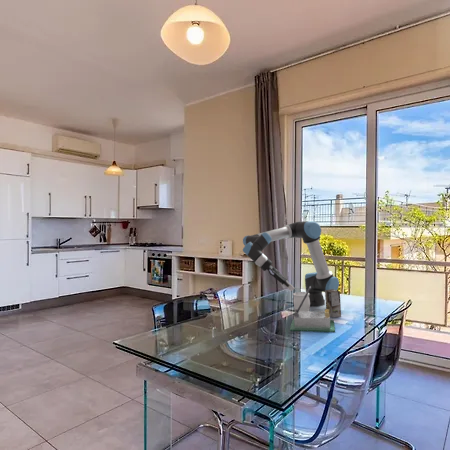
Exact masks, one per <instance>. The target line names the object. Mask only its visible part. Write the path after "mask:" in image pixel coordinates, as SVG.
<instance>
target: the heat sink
mask: <svg viewBox="0 0 450 450" xmlns="http://www.w3.org/2000/svg"><path fill="white" fill-rule="evenodd" d="M296 311H297V309H296ZM330 318H331V316H330V314H329V309H326V308H325V309H324V311H318V310H316V311H314V310H313V311H312V310H309V311H299V312H294V316H293V318H292V321H291V324H290V328H289V331H290V332H310V333H311V332H313V333H317V332H318V333H336V326H335V319H330Z"/></svg>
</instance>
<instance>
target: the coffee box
mask: <svg viewBox="0 0 450 450" xmlns="http://www.w3.org/2000/svg"><path fill="white" fill-rule="evenodd" d="M324 300H325V309H329V314H330V318H338V317H340V318H341V317H342V309H341V308H342V307H341V292H340V290H338V289H337V290H334V289H330V290H325V292H324Z"/></svg>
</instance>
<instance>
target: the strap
mask: <svg viewBox="0 0 450 450" xmlns="http://www.w3.org/2000/svg"><path fill="white" fill-rule="evenodd" d="M310 289H311V286H310V287H309V289H308V291H307V293H306V294H305V296H304V298H303V300H302V302H301V304H300V306H299V307H298V309H297V311H296V312H299V310H300V308H301V306H302V304H303V302H304V300H305V299H306V297H307V295H308V293H309V291H310Z"/></svg>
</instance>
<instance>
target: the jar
mask: <svg viewBox="0 0 450 450" xmlns="http://www.w3.org/2000/svg"><path fill="white" fill-rule="evenodd" d="M306 293H307V292H306V291H297V292H296V291H295V292H293V293H292V295H293V300H292V301H293V307H294V311H295V312H296V309H298V307H299V306H300V304H301V302H302V300H303V298H304V296H305V294H306ZM310 307H311V306H310V299H309V293H308V295H307V297H306V299H305V300H304V302H303V304H302V306H301V308H300V310H299V311H310ZM295 312H294V313H295Z"/></svg>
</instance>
